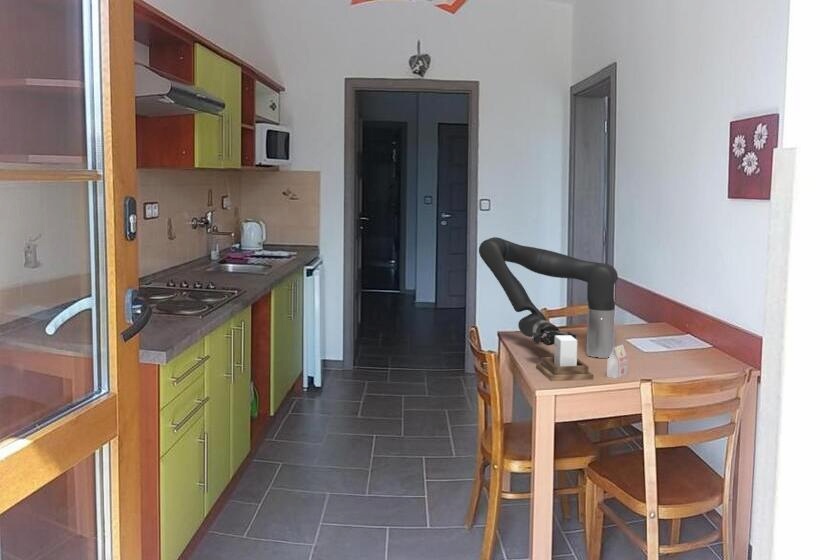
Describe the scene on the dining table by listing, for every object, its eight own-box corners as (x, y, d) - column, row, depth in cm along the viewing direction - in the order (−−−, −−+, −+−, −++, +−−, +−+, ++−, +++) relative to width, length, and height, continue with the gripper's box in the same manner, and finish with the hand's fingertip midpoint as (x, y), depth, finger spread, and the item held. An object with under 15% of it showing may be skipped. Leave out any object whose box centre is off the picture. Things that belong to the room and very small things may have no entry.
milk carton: (606, 377, 234) (608, 347, 233) (616, 373, 239) (617, 343, 238) (617, 379, 232) (618, 348, 230) (626, 375, 237) (628, 345, 235)
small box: (576, 372, 235) (577, 340, 233) (559, 372, 234) (560, 340, 233) (570, 365, 242) (571, 334, 241) (553, 366, 242) (554, 335, 241)
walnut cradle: (576, 366, 247) (576, 355, 247) (593, 379, 231) (593, 367, 231) (536, 367, 246) (536, 356, 245) (550, 380, 230) (551, 368, 229)
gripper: (526, 322, 256) (540, 331, 241) (565, 321, 258) (581, 330, 242) (526, 343, 257) (539, 353, 242) (564, 342, 259) (580, 352, 243)
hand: (560, 342), depth 242 cm, fingers open, 8 cm apart
